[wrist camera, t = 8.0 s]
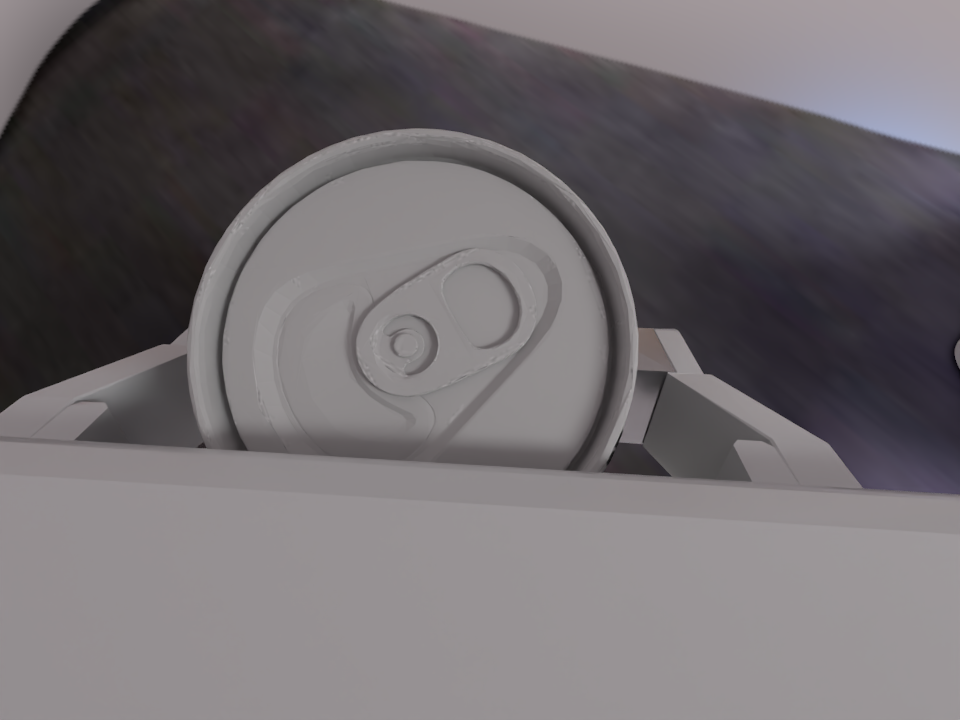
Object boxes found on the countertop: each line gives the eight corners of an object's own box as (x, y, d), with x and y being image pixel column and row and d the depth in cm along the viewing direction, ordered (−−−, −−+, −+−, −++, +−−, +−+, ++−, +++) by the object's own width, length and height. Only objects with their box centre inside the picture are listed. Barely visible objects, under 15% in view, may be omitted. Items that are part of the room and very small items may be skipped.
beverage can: (348, 361, 18) (71, 242, 6) (495, 281, 18) (509, 17, 6) (428, 514, 17) (289, 728, 5) (580, 427, 17) (780, 439, 5)
